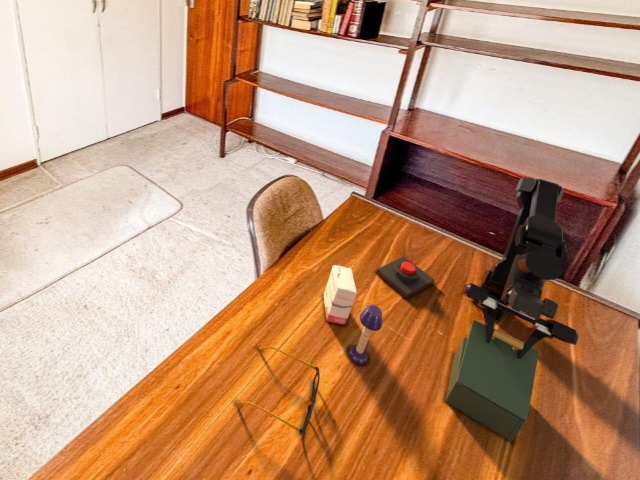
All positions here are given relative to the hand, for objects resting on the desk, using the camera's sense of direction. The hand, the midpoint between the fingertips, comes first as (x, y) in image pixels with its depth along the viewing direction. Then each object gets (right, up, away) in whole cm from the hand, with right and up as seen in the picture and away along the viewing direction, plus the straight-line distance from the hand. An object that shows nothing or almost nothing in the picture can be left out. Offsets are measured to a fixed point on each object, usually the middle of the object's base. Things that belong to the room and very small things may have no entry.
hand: (502, 350), depth 83 cm
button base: (-2, +2, +33) cm, 33 cm away
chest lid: (-1, -3, 0) cm, 4 cm away
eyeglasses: (-46, -11, +3) cm, 48 cm away
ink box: (-27, -2, +22) cm, 35 cm away
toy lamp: (-26, -8, +11) cm, 29 cm away
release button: (-2, +5, +32) cm, 32 cm away
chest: (-2, -12, +4) cm, 13 cm away
